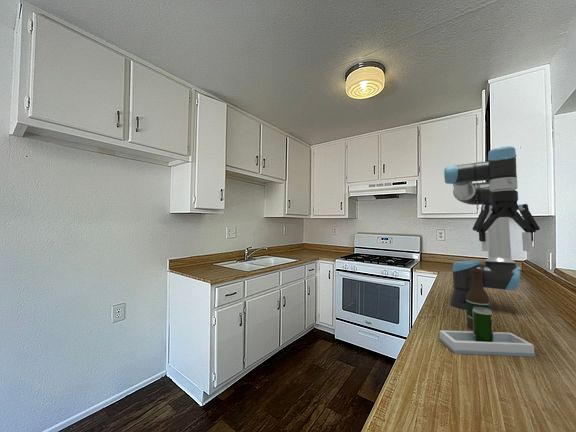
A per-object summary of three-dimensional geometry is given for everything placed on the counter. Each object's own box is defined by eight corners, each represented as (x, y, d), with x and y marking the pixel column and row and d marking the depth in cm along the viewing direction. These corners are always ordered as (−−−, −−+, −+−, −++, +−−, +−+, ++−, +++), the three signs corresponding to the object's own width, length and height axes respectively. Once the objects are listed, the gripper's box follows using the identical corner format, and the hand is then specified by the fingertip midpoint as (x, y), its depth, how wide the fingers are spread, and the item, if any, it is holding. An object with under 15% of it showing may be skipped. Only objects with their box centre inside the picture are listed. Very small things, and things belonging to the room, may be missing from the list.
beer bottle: (488, 326, 102) (485, 268, 104) (494, 333, 95) (491, 271, 97) (465, 323, 106) (463, 267, 107) (469, 330, 99) (467, 269, 100)
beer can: (477, 347, 83) (476, 310, 83) (470, 340, 88) (469, 306, 89) (497, 349, 81) (495, 312, 82) (488, 342, 87) (487, 307, 87)
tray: (439, 339, 91) (439, 330, 91) (510, 342, 88) (509, 332, 89) (454, 353, 81) (454, 342, 81) (535, 356, 78) (534, 345, 79)
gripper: (472, 190, 86) (475, 252, 85) (552, 188, 83) (555, 252, 82) (459, 193, 93) (462, 250, 92) (532, 191, 91) (535, 250, 90)
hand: (506, 251), depth 87 cm, fingers open, 13 cm apart
